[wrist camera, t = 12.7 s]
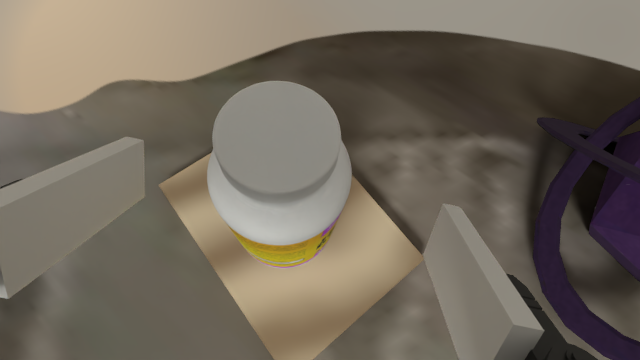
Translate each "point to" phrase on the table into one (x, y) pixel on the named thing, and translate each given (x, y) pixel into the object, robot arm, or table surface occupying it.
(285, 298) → the pad
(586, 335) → the decorative bottle
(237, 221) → the supplement bottle
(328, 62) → the table surface
